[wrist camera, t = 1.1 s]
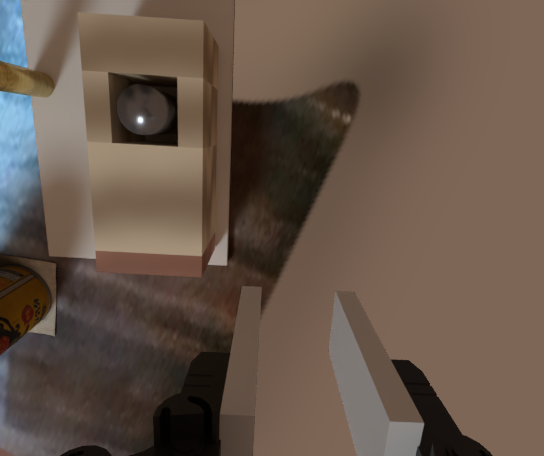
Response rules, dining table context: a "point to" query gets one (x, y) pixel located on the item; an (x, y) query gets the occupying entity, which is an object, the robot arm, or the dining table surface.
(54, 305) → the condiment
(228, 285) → the dining table surface
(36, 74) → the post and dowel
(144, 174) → the beige block with hole
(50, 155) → the base board
